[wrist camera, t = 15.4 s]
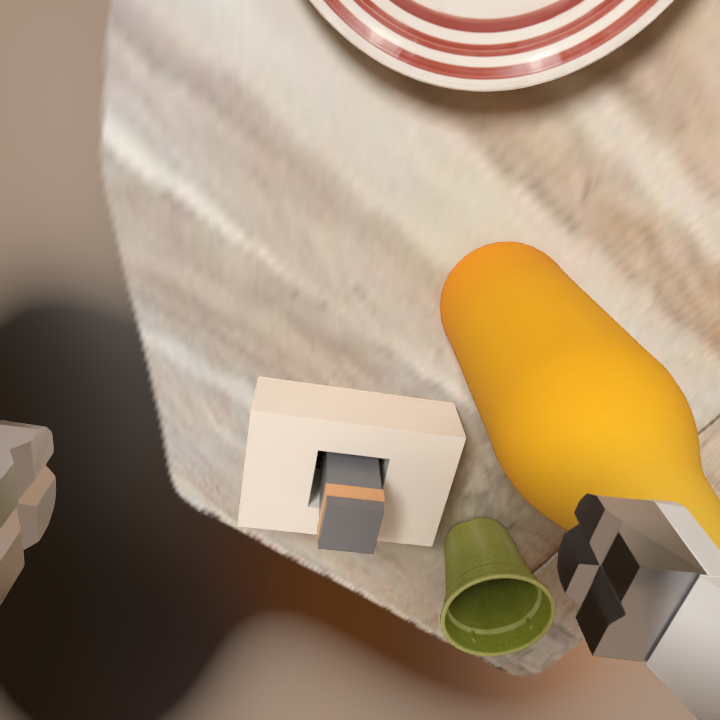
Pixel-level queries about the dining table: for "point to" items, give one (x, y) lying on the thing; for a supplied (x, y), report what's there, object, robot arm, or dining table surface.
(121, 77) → the dining table surface
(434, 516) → the socket block
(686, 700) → the robot arm
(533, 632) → the plant pot
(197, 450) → the dining table surface
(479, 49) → the dinner plate
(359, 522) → the plug
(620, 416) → the beer bottle
